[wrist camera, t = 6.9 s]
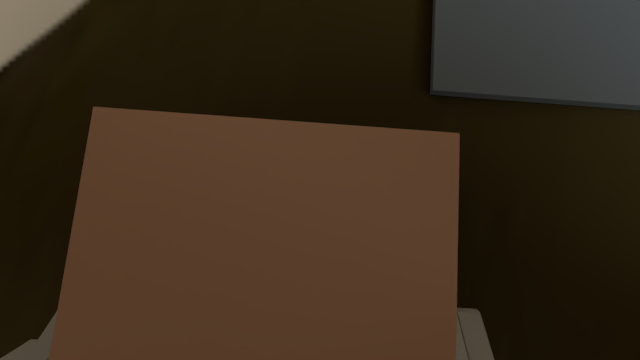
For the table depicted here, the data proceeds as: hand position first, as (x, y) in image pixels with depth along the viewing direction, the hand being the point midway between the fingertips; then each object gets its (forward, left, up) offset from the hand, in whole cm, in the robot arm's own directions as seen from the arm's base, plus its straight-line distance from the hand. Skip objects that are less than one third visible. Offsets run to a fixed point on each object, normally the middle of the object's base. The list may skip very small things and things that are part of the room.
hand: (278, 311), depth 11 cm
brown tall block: (0, 0, -7) cm, 7 cm away
